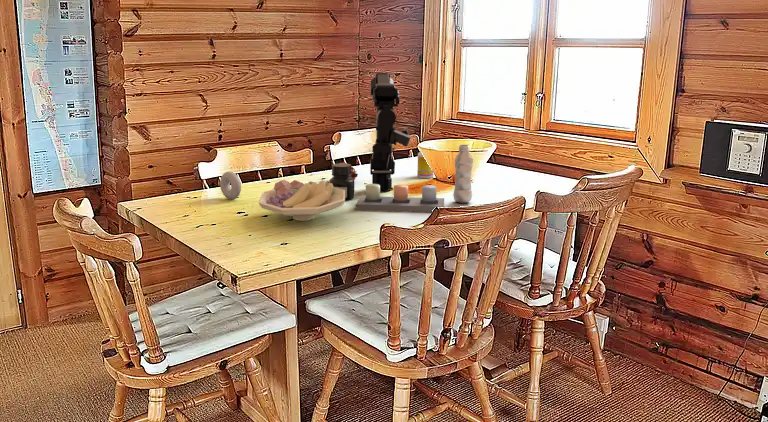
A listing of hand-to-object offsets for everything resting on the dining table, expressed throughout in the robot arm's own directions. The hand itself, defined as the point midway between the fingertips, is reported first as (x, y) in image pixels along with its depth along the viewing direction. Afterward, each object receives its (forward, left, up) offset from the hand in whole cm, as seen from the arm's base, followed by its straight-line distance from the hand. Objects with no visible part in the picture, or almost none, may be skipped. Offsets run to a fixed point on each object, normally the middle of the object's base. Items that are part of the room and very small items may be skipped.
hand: (384, 169), depth 228 cm
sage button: (-3, -2, -10) cm, 10 cm away
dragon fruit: (-33, +25, -13) cm, 43 cm away
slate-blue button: (+14, +6, -10) cm, 18 cm away
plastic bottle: (+20, +19, -13) cm, 30 cm away
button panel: (+5, +2, -12) cm, 14 cm away
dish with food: (-14, -27, -13) cm, 33 cm away
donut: (-51, -20, -13) cm, 56 cm away
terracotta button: (+5, +2, -10) cm, 11 cm away
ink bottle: (-19, +2, -13) cm, 23 cm away
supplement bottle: (-11, +51, -13) cm, 53 cm away
